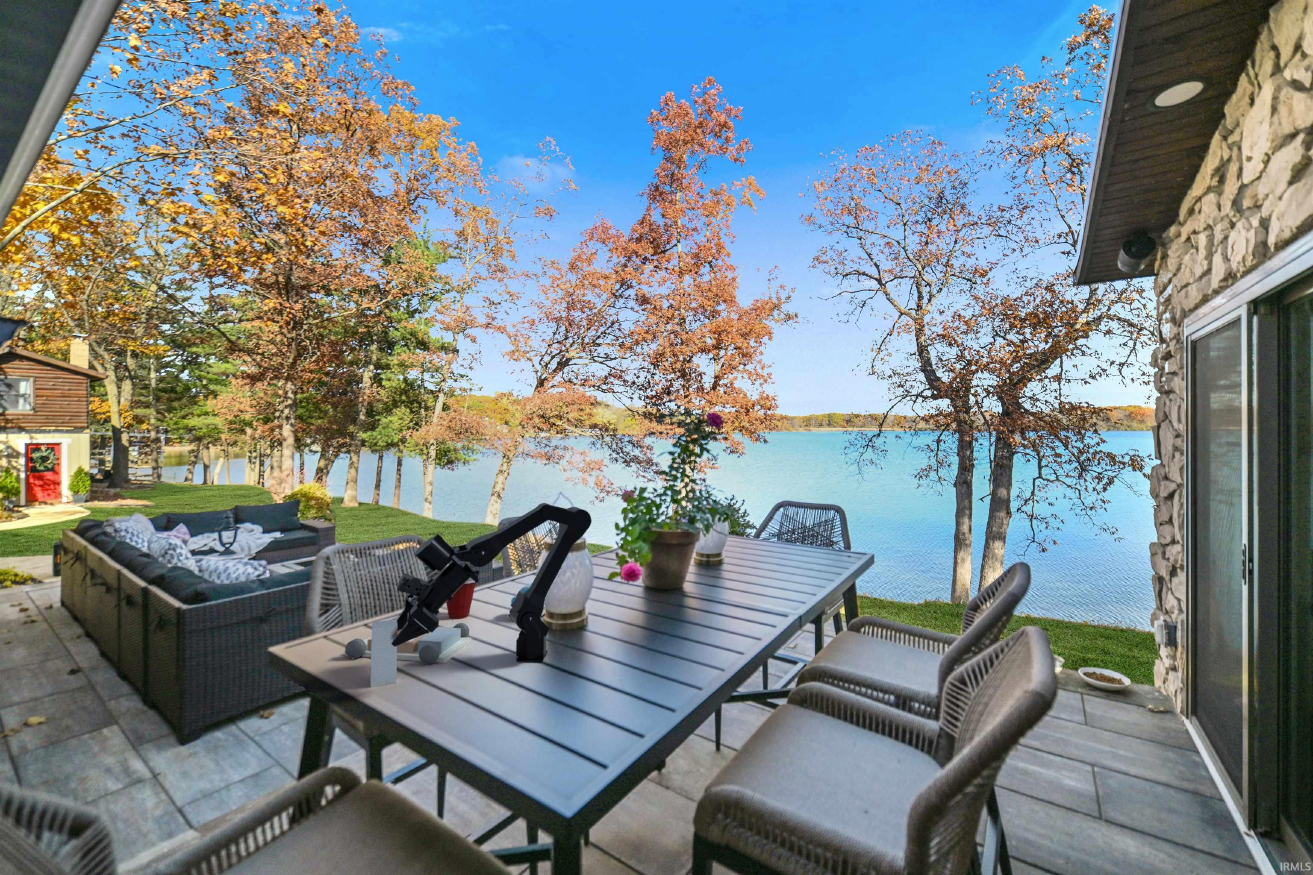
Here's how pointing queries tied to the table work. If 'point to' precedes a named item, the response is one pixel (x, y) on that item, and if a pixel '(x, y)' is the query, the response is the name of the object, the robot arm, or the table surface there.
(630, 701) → the table surface
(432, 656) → the chassis
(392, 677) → the blue-grey rectangular box
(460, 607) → the plastic cup
